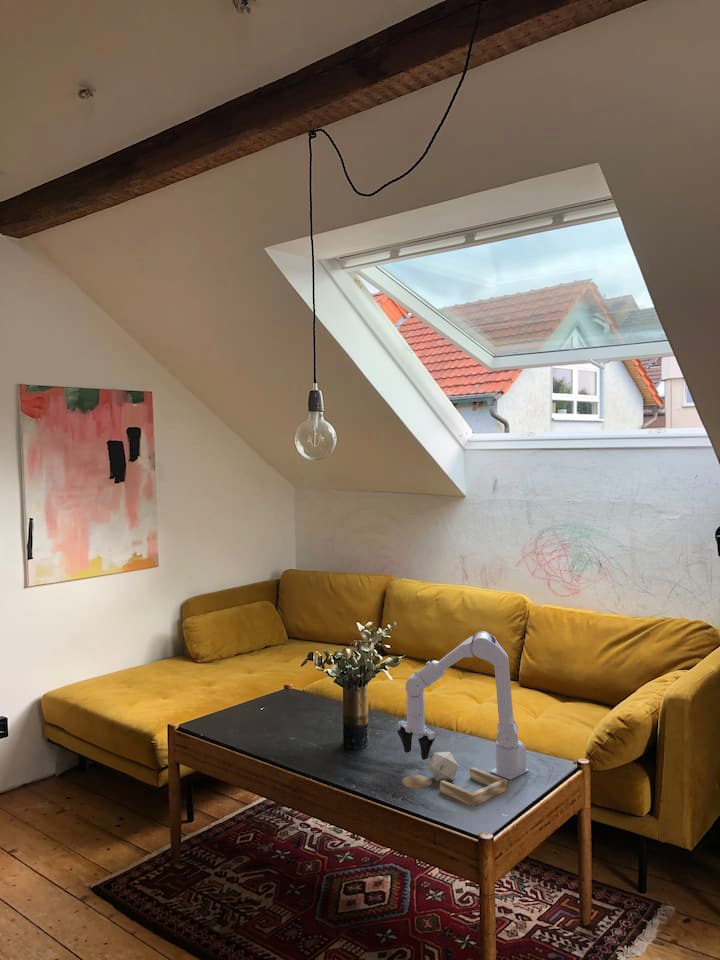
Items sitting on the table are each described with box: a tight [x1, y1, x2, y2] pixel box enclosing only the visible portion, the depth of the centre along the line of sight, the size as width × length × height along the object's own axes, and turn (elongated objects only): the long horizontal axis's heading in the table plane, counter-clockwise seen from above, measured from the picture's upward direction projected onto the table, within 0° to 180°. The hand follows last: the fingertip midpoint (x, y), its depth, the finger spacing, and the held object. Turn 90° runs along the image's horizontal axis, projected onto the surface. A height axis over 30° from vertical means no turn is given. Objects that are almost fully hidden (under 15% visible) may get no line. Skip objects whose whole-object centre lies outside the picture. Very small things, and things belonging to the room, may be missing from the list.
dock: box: [439, 766, 508, 807], centre depth 230 cm, size 15×13×3 cm
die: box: [428, 751, 459, 782], centre depth 239 cm, size 8×9×10 cm
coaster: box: [401, 774, 433, 789], centre depth 237 cm, size 9×9×1 cm
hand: (416, 755), depth 248 cm, fingers open, 7 cm apart
